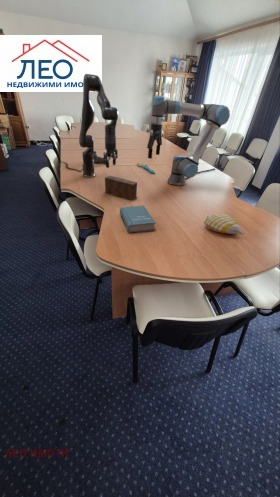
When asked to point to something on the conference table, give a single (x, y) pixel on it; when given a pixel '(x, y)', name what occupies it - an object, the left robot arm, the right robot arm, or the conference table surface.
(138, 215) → the book
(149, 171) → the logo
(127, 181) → the box
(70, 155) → the conference table surface
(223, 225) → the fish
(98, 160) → the laser sight
